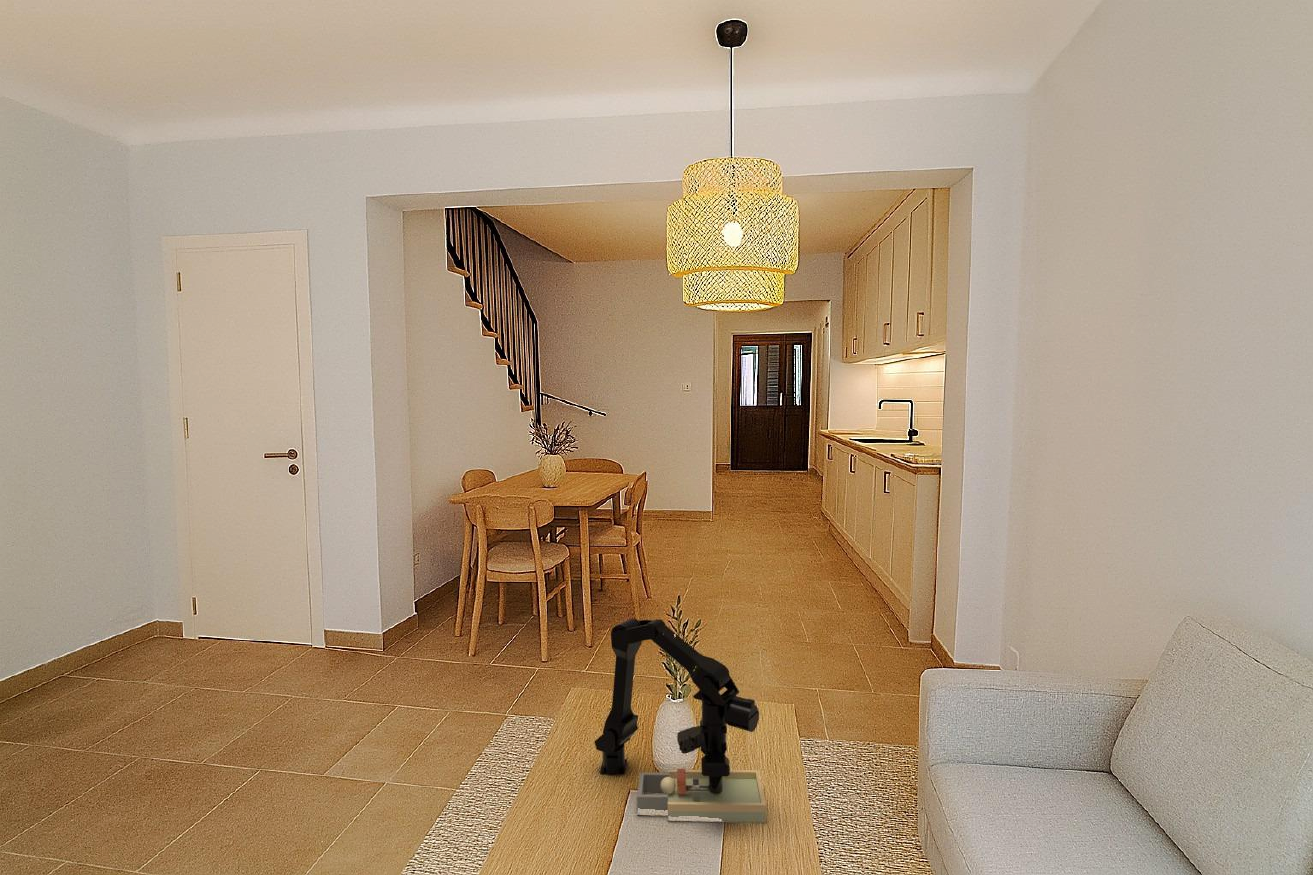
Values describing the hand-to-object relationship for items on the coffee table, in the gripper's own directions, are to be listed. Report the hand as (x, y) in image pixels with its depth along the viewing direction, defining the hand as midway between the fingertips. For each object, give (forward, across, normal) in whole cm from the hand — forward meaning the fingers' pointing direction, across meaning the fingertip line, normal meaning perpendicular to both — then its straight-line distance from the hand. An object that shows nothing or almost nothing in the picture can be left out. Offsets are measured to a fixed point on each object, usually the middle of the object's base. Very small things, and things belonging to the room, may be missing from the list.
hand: (713, 783), depth 161 cm
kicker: (+2, 0, -3) cm, 4 cm away
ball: (+1, 0, -11) cm, 11 cm away
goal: (+5, 0, -14) cm, 14 cm away
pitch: (+5, 0, 0) cm, 5 cm away
